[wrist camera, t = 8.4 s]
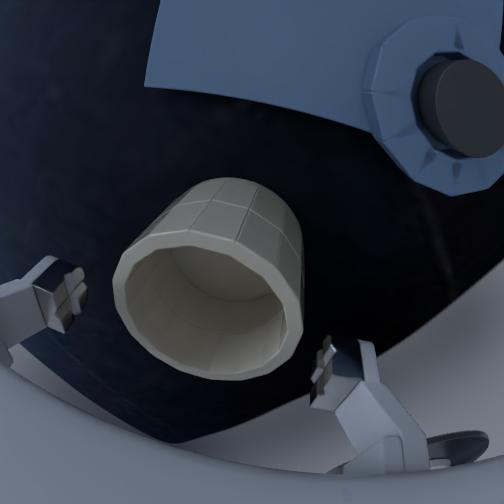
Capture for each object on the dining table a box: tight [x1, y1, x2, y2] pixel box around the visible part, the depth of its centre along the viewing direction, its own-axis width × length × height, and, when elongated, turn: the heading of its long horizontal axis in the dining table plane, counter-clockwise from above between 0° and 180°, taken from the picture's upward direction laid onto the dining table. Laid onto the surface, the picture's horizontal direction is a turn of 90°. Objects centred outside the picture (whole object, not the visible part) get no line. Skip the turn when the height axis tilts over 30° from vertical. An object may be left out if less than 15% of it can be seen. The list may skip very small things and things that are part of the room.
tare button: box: [417, 59, 504, 158], centre depth 6 cm, size 3×3×1 cm
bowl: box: [113, 178, 305, 380], centre depth 12 cm, size 6×6×5 cm
